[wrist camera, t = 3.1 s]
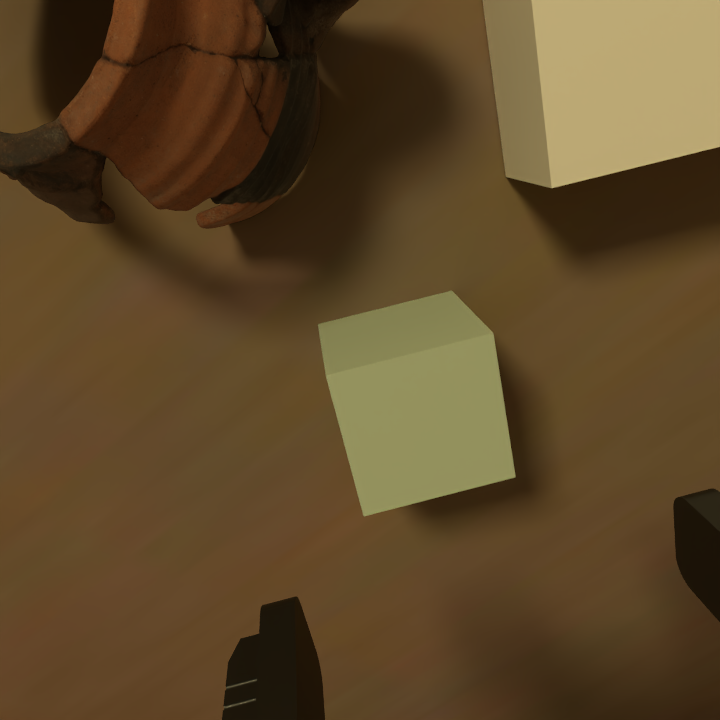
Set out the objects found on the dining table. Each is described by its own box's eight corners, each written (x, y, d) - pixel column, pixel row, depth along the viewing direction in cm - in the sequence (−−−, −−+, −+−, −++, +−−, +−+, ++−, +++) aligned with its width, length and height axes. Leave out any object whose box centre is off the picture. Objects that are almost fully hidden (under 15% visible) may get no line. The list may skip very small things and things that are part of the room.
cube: (318, 323, 23) (325, 375, 18) (451, 290, 23) (493, 333, 18) (349, 442, 25) (363, 516, 20) (472, 410, 25) (515, 477, 20)
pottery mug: (185, 292, 22) (-32, 286, 15) (76, 65, 23) (-184, -53, 15) (488, 88, 18) (408, -72, 10) (341, -179, 19) (166, -510, 11)
